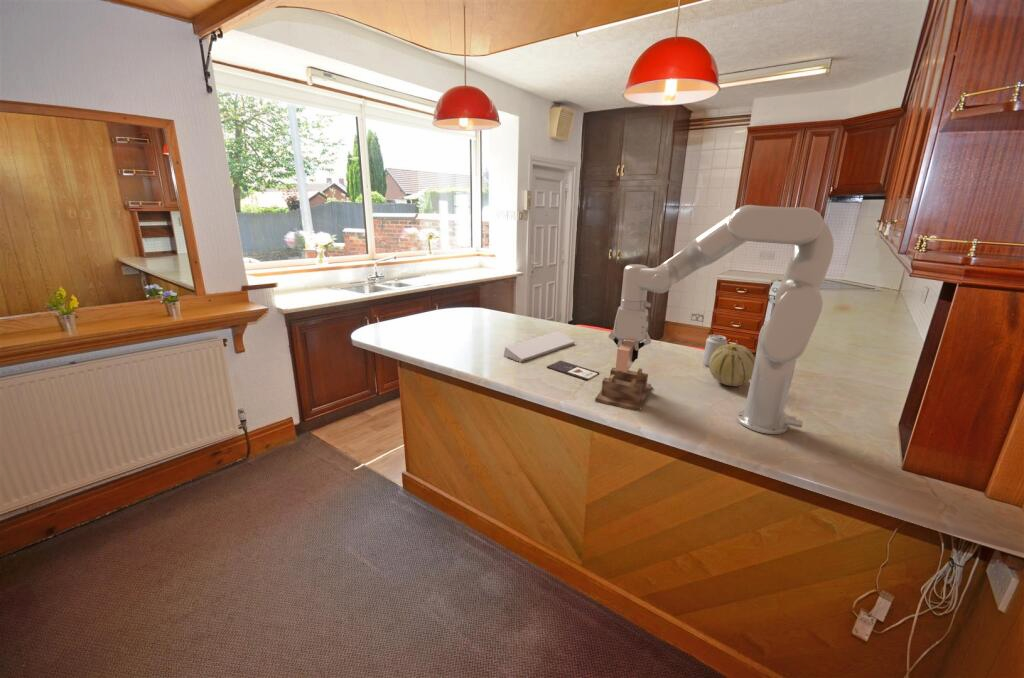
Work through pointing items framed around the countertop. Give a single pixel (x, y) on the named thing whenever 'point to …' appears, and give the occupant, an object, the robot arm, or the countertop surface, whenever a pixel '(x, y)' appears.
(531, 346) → the decorative molding
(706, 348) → the can
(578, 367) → the chocolate bar
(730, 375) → the cantaloupe
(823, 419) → the countertop surface
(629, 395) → the brown cradle stand
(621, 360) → the salmon pink rectangular block
